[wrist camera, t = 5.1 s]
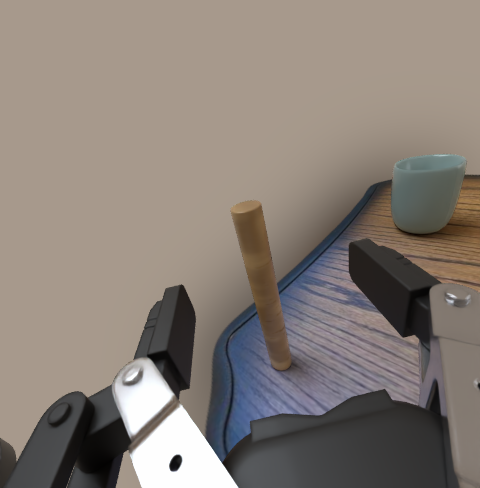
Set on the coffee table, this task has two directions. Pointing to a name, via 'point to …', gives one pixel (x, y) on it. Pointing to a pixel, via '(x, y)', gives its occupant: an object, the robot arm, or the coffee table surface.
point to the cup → (426, 191)
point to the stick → (262, 279)
